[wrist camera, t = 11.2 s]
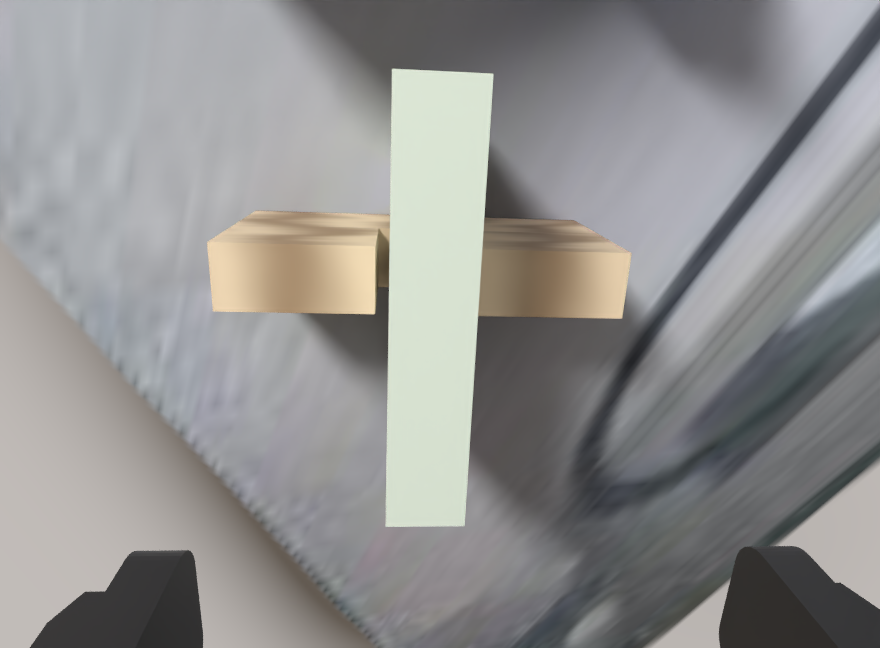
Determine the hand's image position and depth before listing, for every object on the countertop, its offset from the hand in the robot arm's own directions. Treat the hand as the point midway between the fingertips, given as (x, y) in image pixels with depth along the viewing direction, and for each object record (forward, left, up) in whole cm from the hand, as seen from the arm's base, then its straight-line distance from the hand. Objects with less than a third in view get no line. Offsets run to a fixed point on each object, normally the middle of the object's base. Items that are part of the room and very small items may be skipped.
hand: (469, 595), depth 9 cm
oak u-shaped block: (0, 0, -27) cm, 27 cm away
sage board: (0, 0, -27) cm, 27 cm away
